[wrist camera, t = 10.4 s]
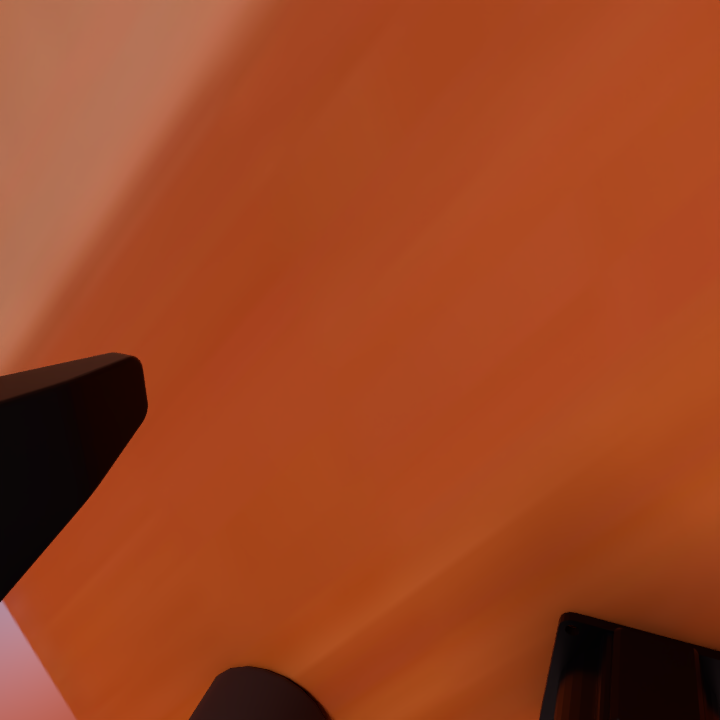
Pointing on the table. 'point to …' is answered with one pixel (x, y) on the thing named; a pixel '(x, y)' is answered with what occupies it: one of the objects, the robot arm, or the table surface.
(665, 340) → the table surface
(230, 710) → the bottle
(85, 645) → the table surface
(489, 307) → the table surface
